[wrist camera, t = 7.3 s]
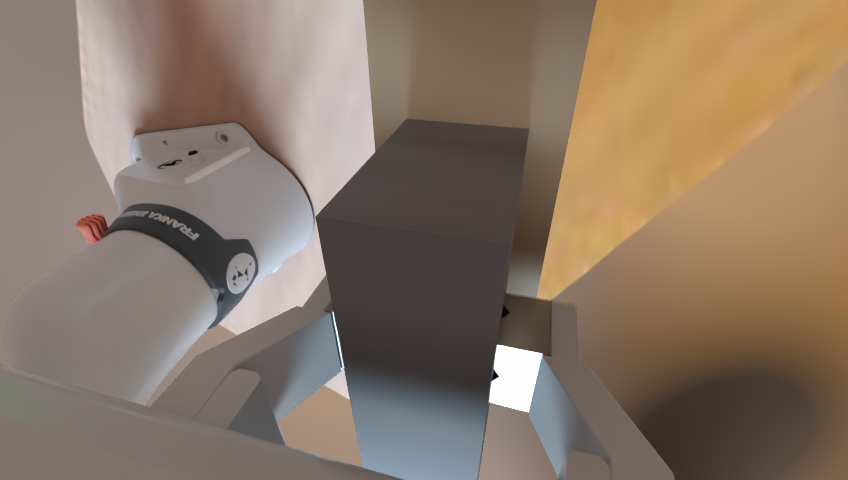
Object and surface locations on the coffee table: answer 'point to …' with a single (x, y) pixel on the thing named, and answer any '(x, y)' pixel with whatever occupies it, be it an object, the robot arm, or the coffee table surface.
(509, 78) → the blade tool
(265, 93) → the coffee table surface
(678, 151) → the coffee table surface
